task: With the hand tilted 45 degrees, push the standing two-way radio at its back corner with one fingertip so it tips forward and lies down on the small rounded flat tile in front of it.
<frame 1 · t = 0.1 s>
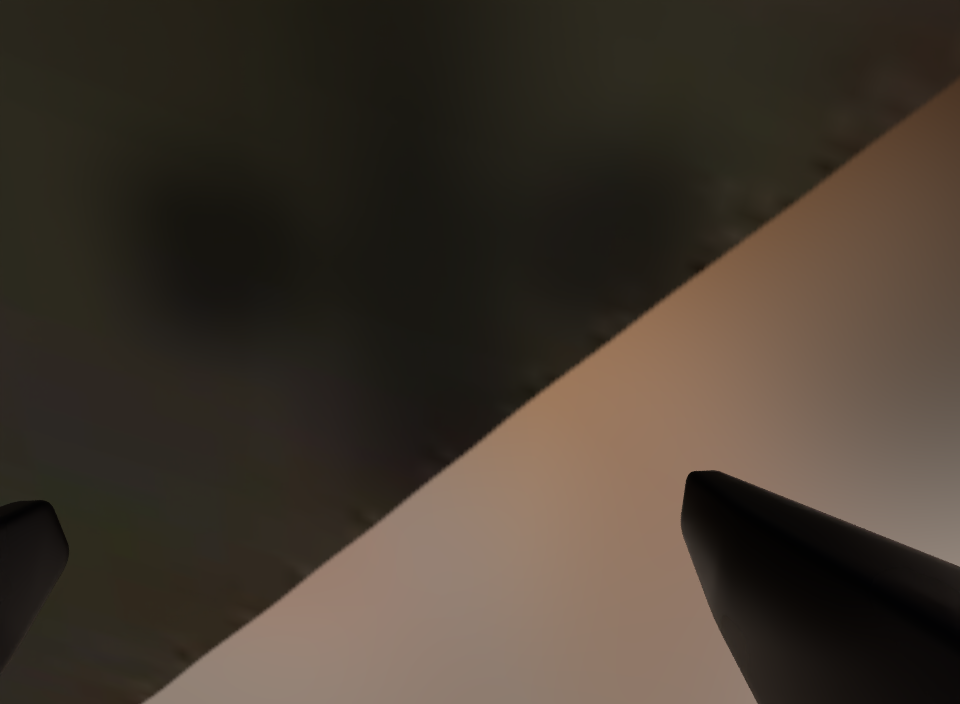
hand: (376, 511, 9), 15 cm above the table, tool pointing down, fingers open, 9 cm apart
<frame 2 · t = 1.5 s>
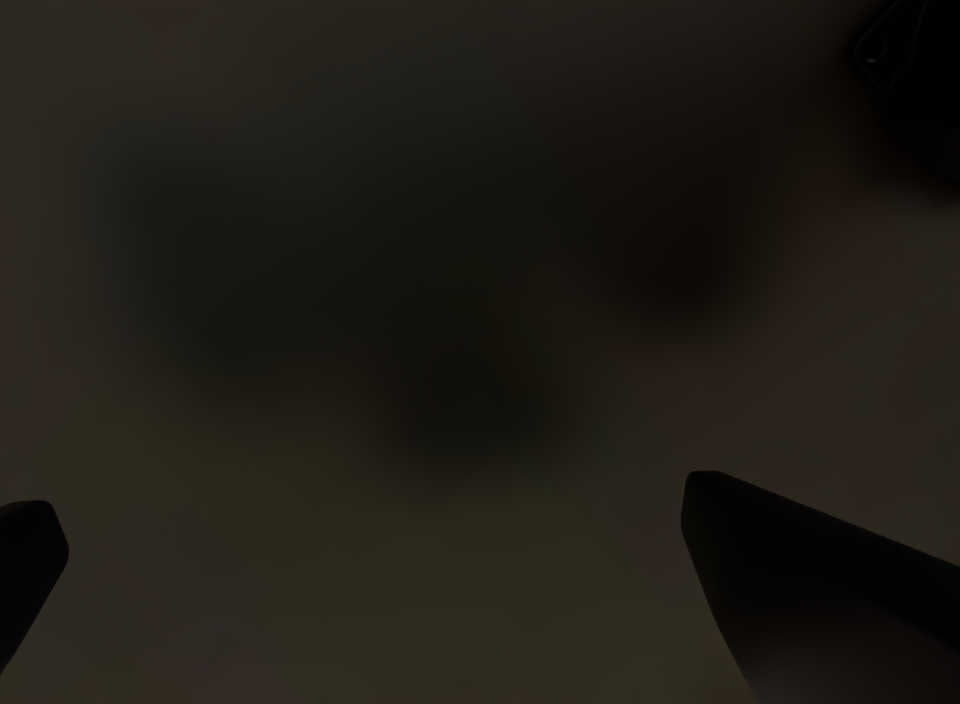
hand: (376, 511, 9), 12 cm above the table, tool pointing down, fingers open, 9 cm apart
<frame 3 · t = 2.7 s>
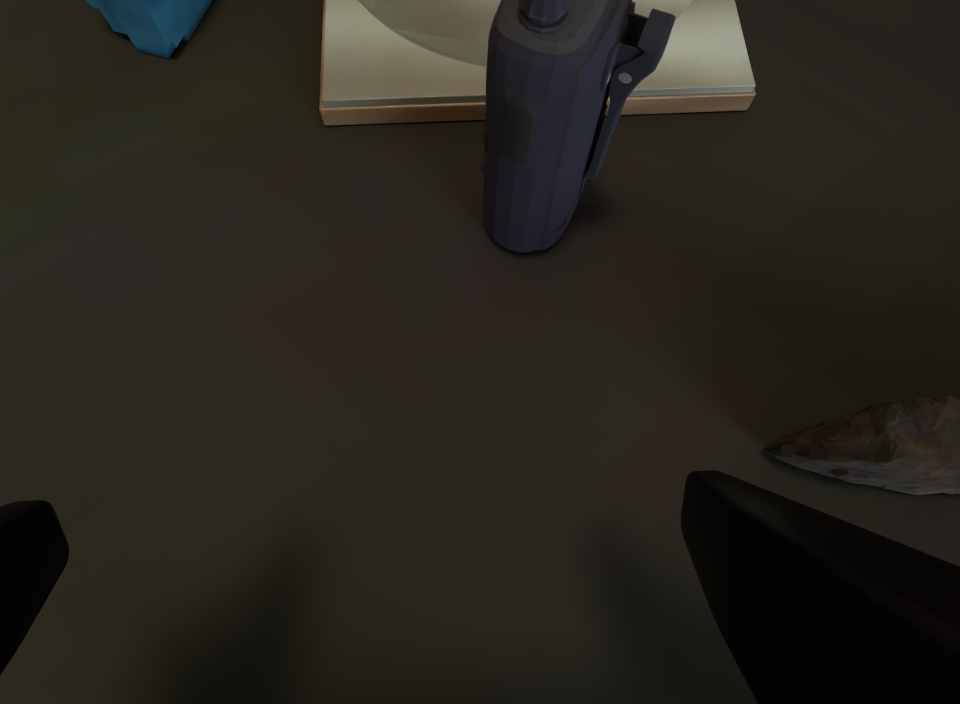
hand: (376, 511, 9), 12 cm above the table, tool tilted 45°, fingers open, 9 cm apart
two-way radio: (545, 211, 25), on the table
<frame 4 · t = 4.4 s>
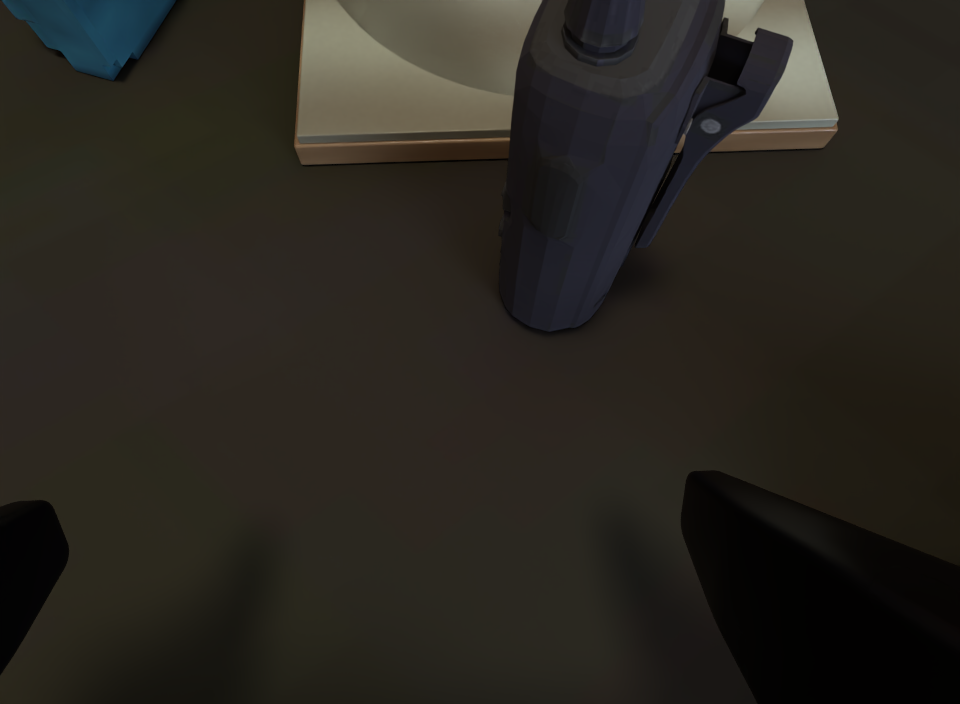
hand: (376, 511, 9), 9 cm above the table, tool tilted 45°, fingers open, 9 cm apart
two-way radio: (576, 275, 20), on the table
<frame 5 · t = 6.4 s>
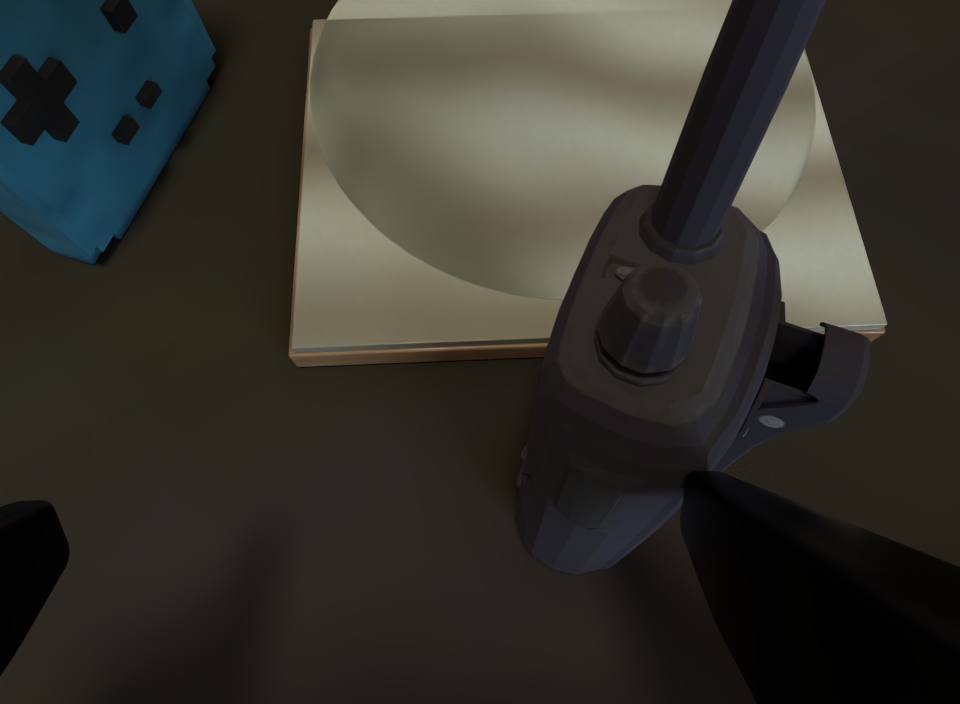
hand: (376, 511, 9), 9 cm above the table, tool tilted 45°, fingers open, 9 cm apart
rounded flat tile: (557, 113, 23), on the table
two-way radio: (602, 498, 18), on the table, touching gripper
handheld gaming console: (128, 151, 22), on the table
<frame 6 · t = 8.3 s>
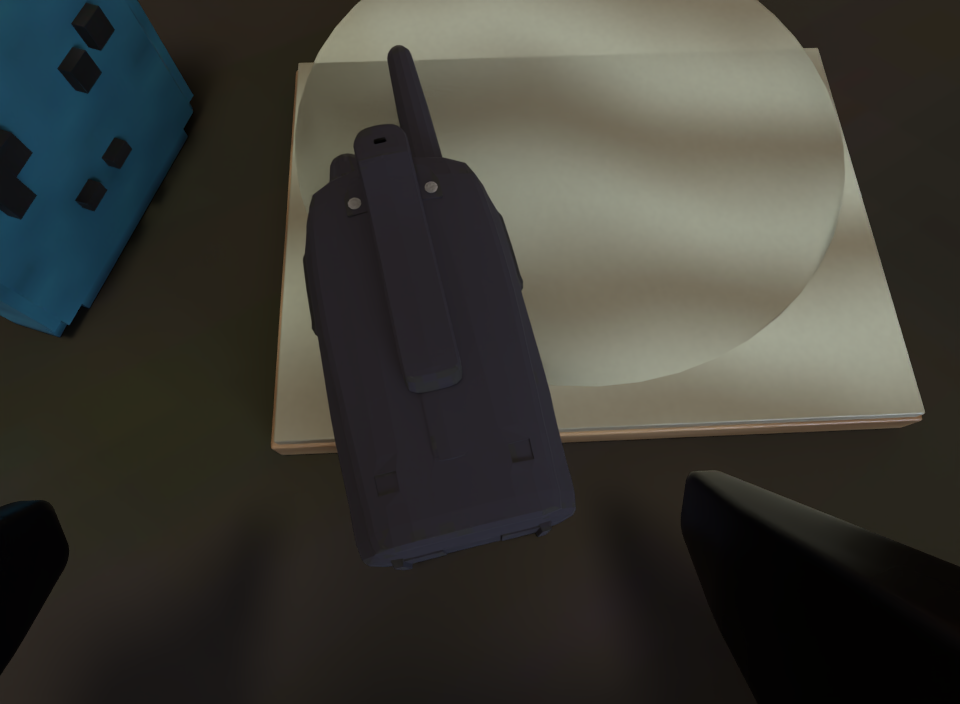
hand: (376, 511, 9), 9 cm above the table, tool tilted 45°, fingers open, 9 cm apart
rounded flat tile: (564, 165, 21), on the table
two-way radio: (475, 559, 13), point 4 cm above the table, touching rounded flat tile
handheld gaming console: (98, 207, 21), on the table
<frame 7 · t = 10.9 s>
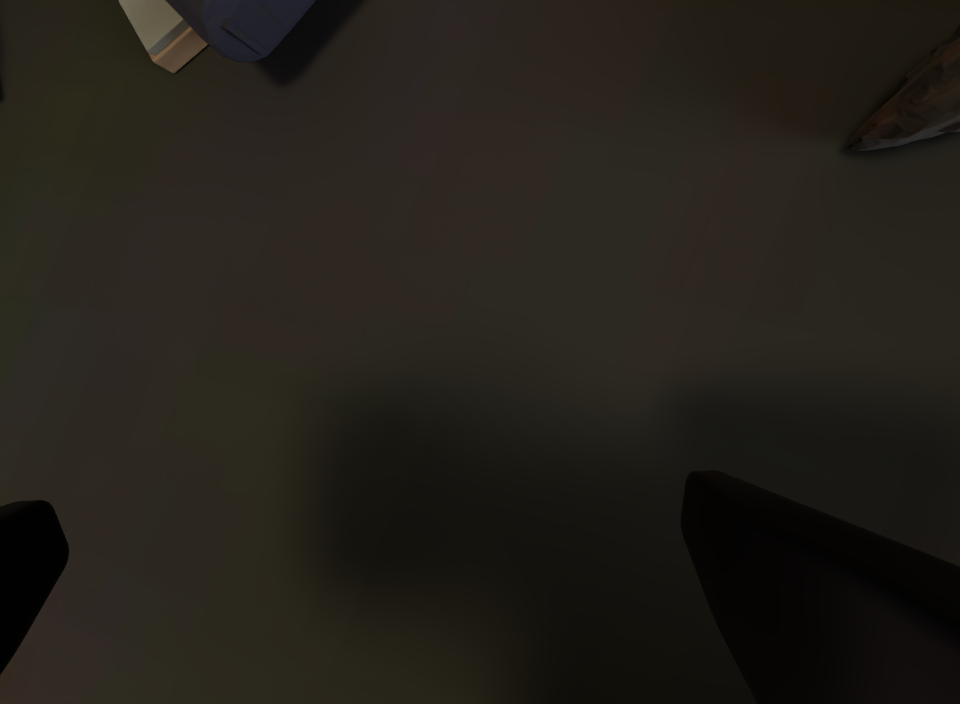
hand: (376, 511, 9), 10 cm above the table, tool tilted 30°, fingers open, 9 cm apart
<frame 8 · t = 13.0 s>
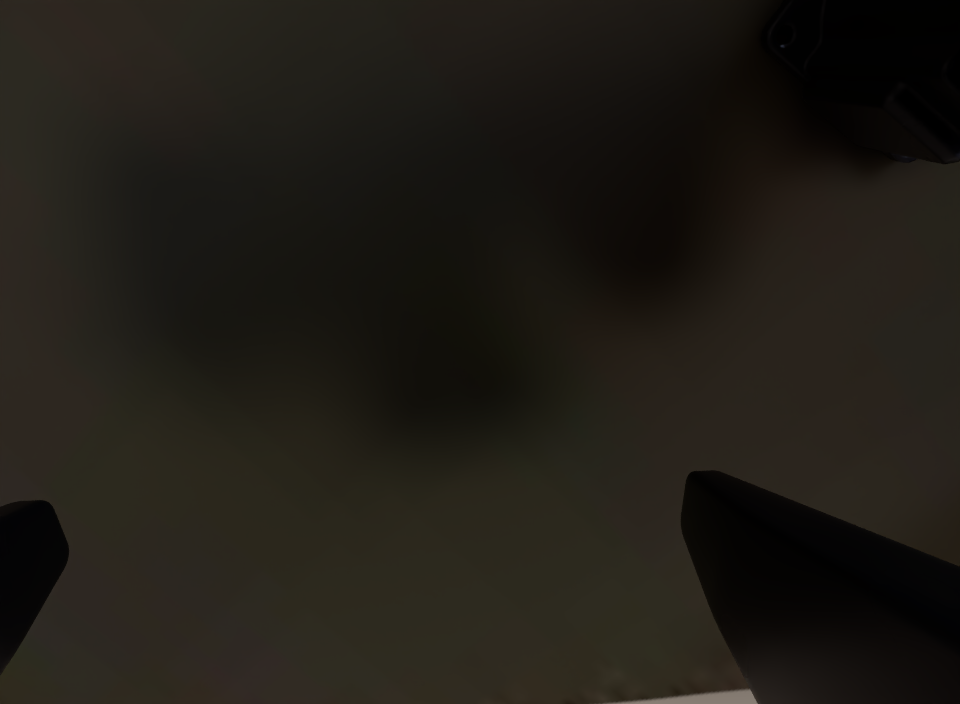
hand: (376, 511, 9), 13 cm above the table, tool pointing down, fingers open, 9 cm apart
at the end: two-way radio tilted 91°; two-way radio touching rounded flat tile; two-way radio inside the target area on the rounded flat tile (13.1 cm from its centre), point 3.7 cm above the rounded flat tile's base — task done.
